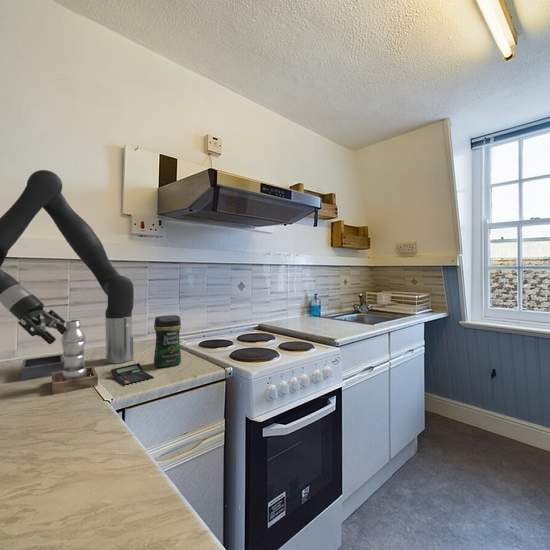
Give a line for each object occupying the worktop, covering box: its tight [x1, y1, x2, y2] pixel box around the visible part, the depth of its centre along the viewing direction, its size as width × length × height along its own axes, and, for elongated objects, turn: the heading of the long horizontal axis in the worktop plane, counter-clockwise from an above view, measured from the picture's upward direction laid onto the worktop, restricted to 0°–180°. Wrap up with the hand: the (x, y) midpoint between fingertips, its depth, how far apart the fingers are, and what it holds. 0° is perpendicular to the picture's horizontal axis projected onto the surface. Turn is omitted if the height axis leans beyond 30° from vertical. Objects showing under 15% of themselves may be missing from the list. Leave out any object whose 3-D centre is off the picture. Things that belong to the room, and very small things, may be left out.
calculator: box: [110, 362, 154, 387], centre depth 106 cm, size 9×12×3 cm
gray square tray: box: [20, 354, 64, 382], centre depth 110 cm, size 12×12×4 cm
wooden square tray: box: [51, 366, 99, 395], centre depth 100 cm, size 12×12×3 cm
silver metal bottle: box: [60, 319, 87, 382], centre depth 99 cm, size 6×7×20 cm
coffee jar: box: [153, 314, 182, 368], centre depth 119 cm, size 10×8×19 cm
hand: (61, 338), depth 99 cm, fingers open, 8 cm apart
